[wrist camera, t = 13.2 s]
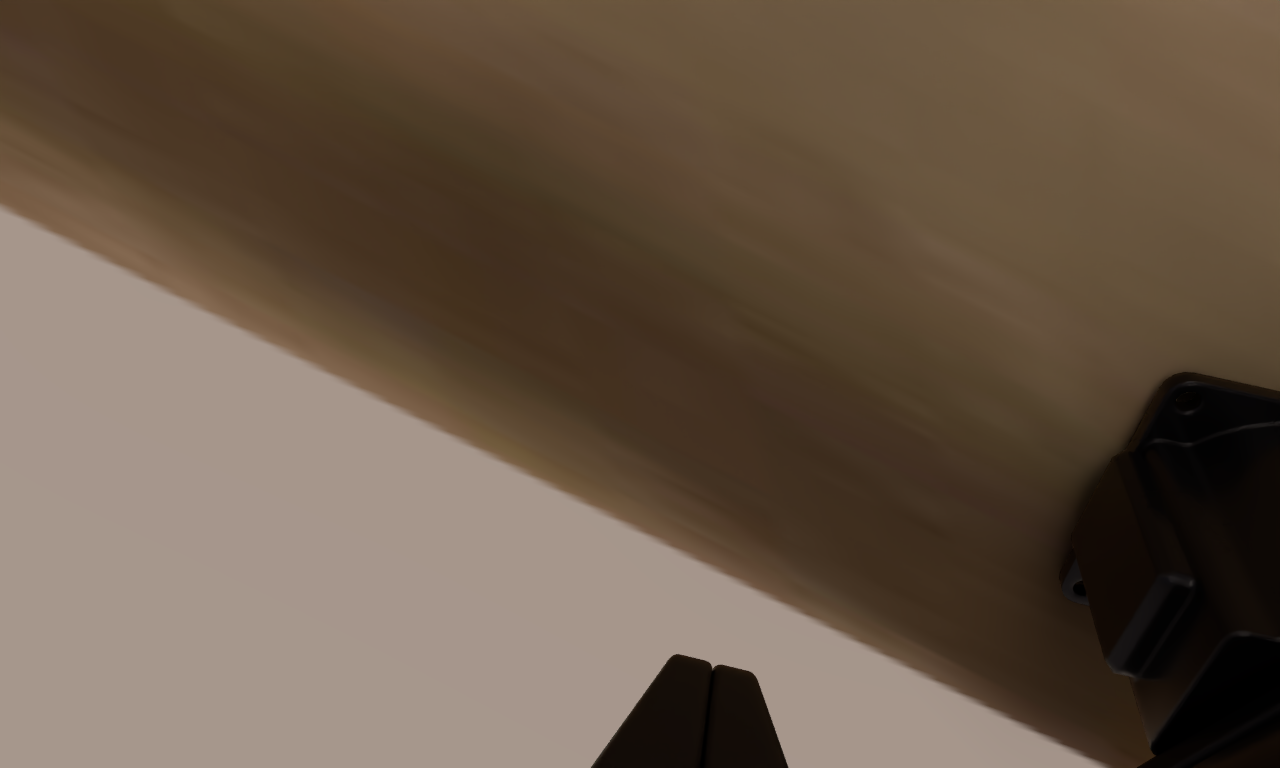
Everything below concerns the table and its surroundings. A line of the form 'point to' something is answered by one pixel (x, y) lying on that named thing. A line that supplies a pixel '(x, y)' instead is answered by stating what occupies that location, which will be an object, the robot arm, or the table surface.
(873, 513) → the table surface
